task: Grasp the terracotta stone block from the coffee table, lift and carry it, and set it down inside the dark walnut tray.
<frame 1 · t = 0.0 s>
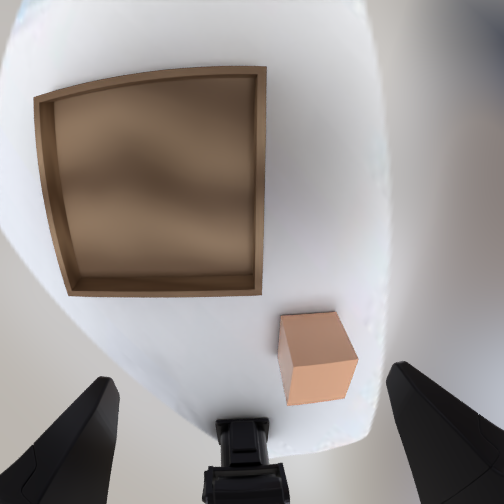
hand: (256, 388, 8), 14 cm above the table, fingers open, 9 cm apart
terracotta block: (305, 335, 27), on the table
walnut tray: (151, 184, 20), on the table
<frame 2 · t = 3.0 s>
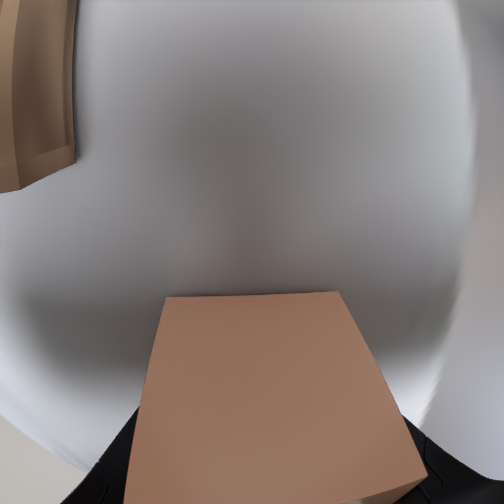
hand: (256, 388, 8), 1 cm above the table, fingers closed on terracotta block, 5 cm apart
terracotta block: (253, 356, 10), on the table, touching gripper
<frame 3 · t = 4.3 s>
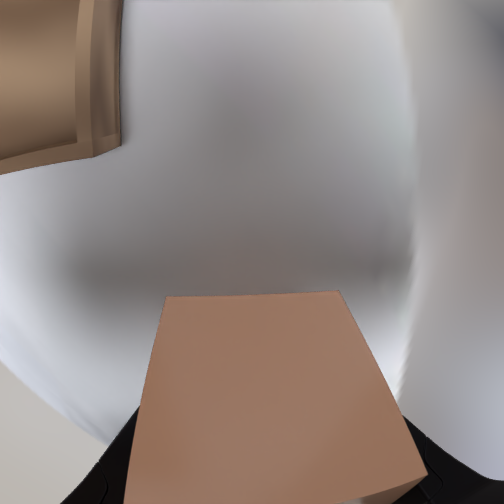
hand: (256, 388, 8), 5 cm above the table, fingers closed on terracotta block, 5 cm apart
terracotta block: (253, 356, 10), point 4 cm above the table, touching gripper
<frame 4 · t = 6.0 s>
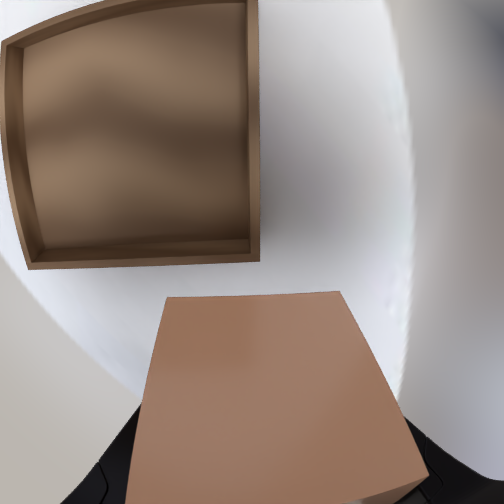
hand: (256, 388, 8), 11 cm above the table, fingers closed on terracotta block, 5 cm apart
terracotta block: (253, 356, 10), point 10 cm above the table, touching gripper
walnut tray: (123, 128, 15), on the table
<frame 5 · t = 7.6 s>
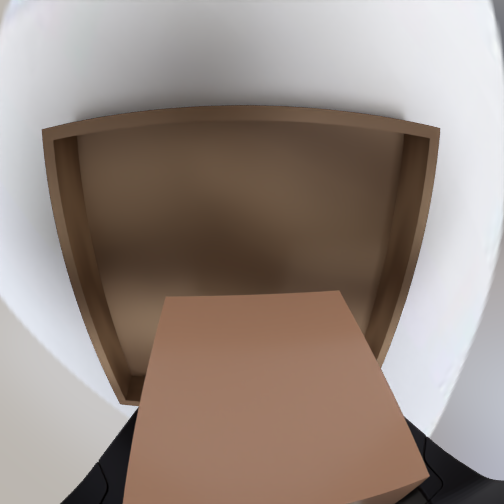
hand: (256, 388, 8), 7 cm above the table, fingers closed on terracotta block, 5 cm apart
terracotta block: (253, 356, 10), point 5 cm above the table, touching gripper
walnut tray: (243, 272, 14), on the table
when the fingers open (3 cm above the table, at t = 9.0 s): terracotta block drops 1 cm, resting on walnut tray.
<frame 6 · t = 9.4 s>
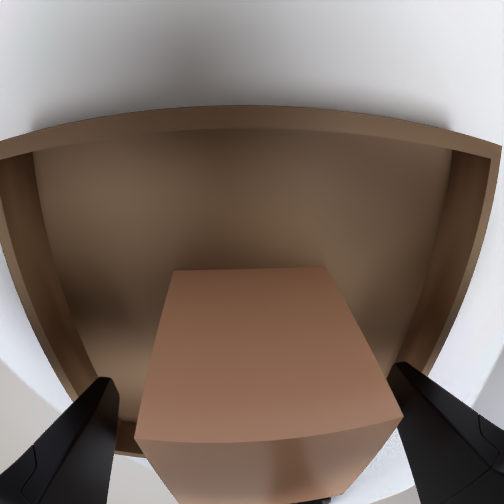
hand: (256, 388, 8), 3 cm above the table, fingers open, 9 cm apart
terracotta block: (250, 328, 11), resting on walnut tray
walnut tray: (248, 319, 11), on the table
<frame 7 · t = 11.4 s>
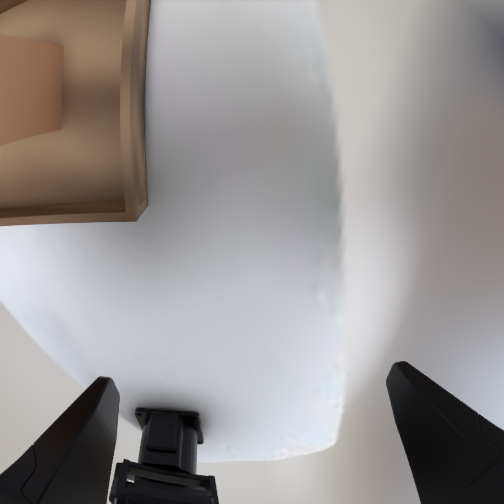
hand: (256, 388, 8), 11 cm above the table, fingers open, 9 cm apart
terracotta block: (29, 95, 12), resting on walnut tray
walnut tray: (33, 95, 13), on the table
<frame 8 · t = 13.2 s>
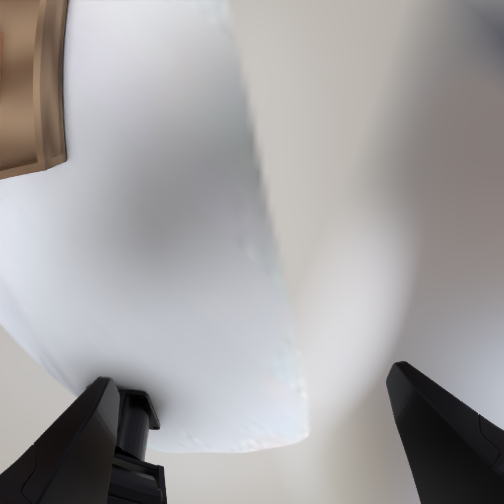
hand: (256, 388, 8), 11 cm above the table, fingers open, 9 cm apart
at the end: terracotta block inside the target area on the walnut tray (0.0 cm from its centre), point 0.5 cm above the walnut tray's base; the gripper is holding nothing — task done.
